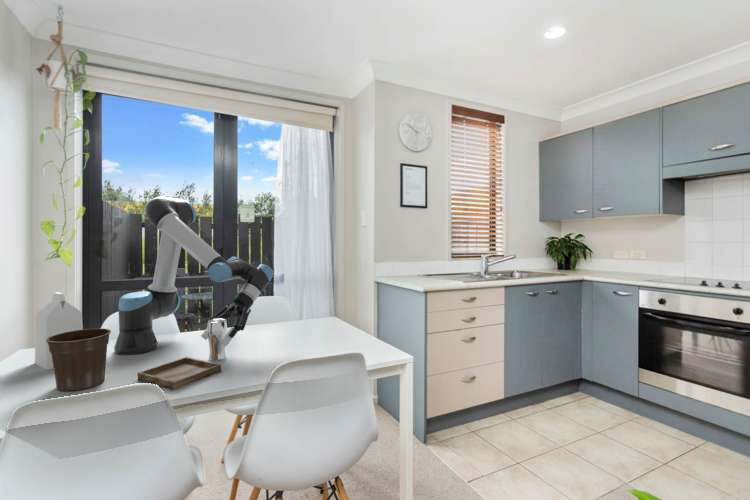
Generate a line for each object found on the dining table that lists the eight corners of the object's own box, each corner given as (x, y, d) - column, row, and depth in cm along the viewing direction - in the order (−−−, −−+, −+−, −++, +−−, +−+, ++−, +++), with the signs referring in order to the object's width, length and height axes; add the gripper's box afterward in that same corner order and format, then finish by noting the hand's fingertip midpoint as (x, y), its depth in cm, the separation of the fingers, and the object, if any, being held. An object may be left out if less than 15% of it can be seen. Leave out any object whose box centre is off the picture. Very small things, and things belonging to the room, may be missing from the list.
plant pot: (34, 389, 114) (33, 338, 114) (91, 372, 129) (90, 326, 129) (68, 398, 108) (67, 344, 108) (123, 378, 124) (122, 330, 123)
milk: (85, 360, 141) (84, 292, 140) (46, 369, 131) (44, 296, 130) (72, 354, 147) (71, 289, 146) (34, 363, 137) (32, 293, 136)
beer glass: (220, 362, 140) (219, 323, 139) (203, 361, 141) (203, 322, 141) (230, 356, 147) (230, 319, 146) (215, 355, 148) (214, 318, 148)
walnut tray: (137, 380, 122) (137, 372, 122) (186, 363, 139) (186, 356, 138) (174, 390, 115) (174, 382, 114) (221, 371, 131) (221, 364, 131)
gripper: (271, 305, 149) (238, 352, 137) (234, 299, 163) (202, 340, 152) (260, 294, 144) (225, 341, 133) (223, 288, 159) (189, 330, 147)
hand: (213, 341), depth 142 cm, fingers open, 13 cm apart
